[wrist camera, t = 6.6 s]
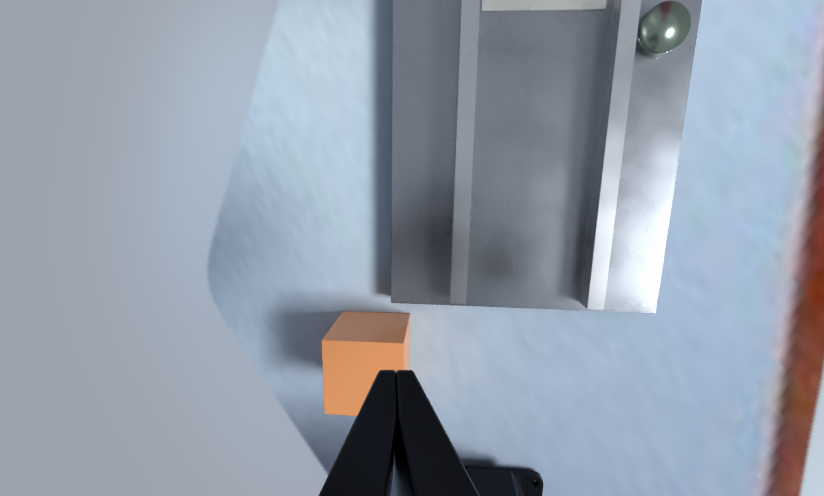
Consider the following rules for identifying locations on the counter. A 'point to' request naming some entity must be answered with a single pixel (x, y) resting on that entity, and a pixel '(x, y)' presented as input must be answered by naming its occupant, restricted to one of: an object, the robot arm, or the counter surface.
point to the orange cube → (361, 356)
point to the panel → (536, 150)
